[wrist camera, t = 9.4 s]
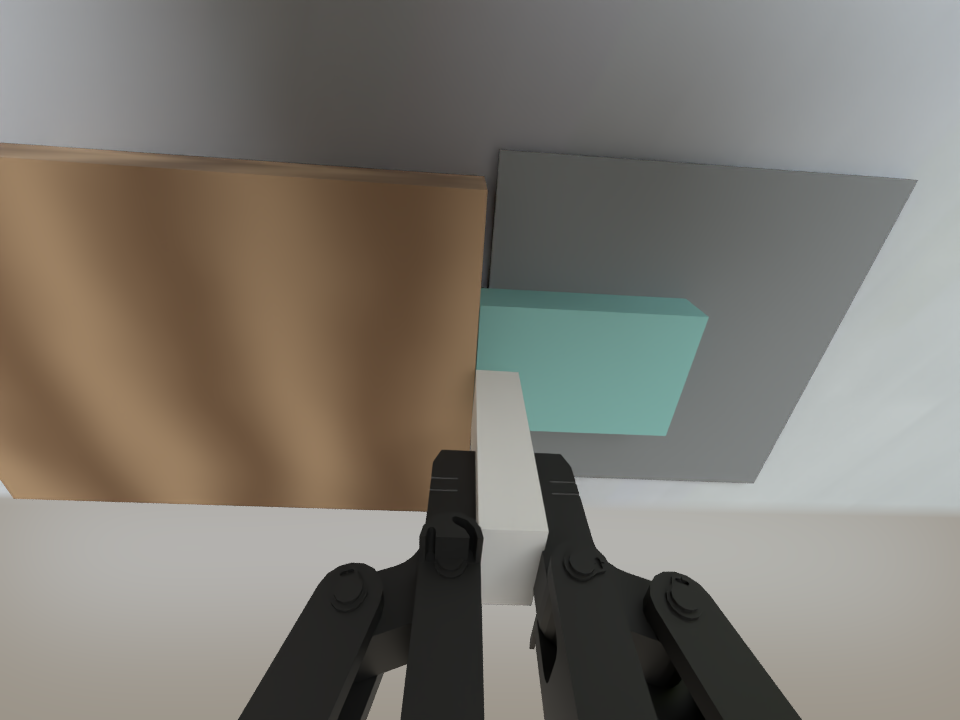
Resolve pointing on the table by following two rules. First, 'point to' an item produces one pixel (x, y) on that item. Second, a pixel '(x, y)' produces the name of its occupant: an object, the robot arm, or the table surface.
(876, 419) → the table surface
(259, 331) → the deck
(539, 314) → the teal foam pad
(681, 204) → the mat
